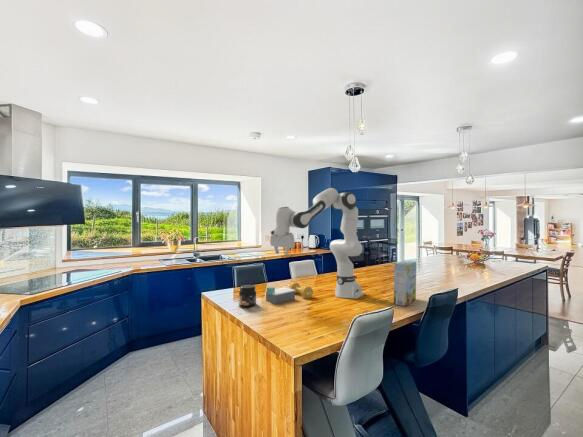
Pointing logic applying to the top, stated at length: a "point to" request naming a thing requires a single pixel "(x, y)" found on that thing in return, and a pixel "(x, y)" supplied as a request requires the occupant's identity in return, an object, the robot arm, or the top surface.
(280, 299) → the tub
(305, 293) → the dumbbell
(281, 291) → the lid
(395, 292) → the snack box
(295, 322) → the top surface
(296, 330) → the top surface
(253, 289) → the supplement container
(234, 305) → the top surface
